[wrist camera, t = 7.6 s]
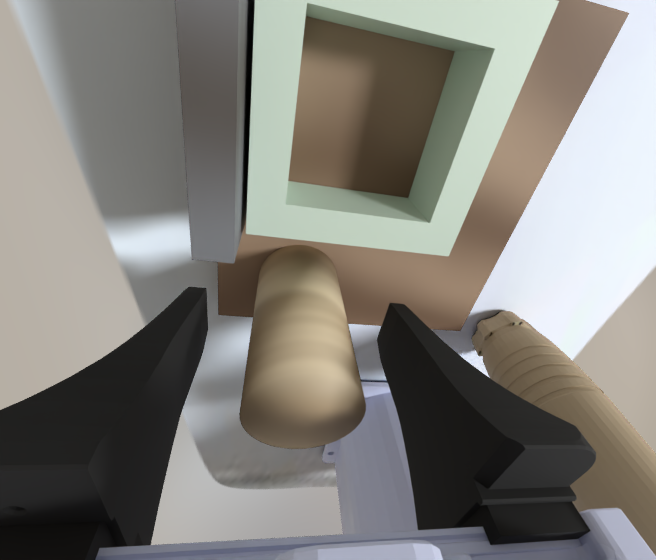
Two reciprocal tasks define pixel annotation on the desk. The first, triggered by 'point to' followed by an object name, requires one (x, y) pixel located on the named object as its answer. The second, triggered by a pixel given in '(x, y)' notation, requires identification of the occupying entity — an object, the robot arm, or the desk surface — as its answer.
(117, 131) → the desk surface
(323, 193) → the collar block
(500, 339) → the handle
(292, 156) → the board
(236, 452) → the desk surface
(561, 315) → the desk surface
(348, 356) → the dowel
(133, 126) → the desk surface
